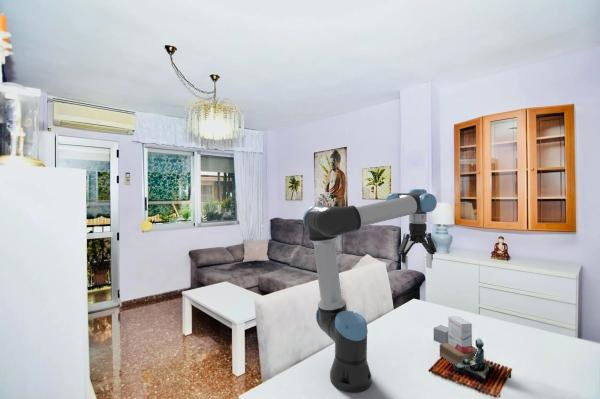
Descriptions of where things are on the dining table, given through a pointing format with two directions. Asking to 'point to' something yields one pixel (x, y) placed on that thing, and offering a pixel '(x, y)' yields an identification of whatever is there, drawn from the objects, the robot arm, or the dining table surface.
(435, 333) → the slate block
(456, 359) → the walnut block
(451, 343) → the ink box
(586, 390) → the dining table surface
